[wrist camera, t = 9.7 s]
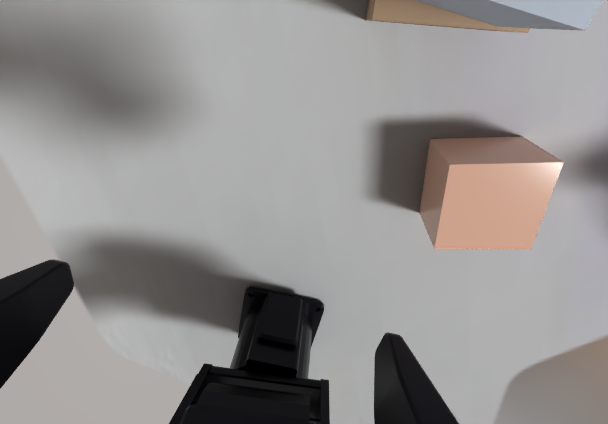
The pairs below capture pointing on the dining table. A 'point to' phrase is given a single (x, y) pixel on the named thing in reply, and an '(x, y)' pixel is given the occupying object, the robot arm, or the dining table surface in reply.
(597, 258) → the dining table surface
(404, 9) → the walnut block
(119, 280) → the dining table surface
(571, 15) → the slate cube
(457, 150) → the terracotta cube
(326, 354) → the dining table surface
